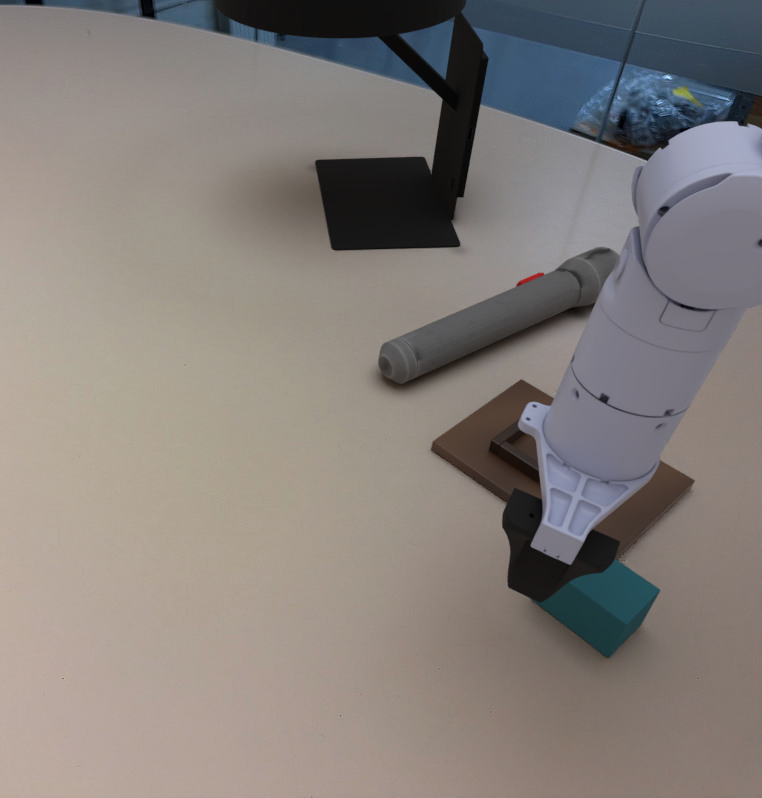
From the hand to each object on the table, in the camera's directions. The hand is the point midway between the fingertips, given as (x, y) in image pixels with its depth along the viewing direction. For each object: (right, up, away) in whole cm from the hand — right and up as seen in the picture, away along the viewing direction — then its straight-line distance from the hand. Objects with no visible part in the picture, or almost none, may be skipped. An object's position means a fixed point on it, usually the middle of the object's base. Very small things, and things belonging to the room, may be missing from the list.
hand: (544, 545), depth 49 cm
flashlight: (+7, +15, +30) cm, 34 cm away
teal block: (+5, -6, +7) cm, 10 cm away
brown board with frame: (+7, +3, +17) cm, 18 cm away
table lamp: (-6, +33, +50) cm, 60 cm away
